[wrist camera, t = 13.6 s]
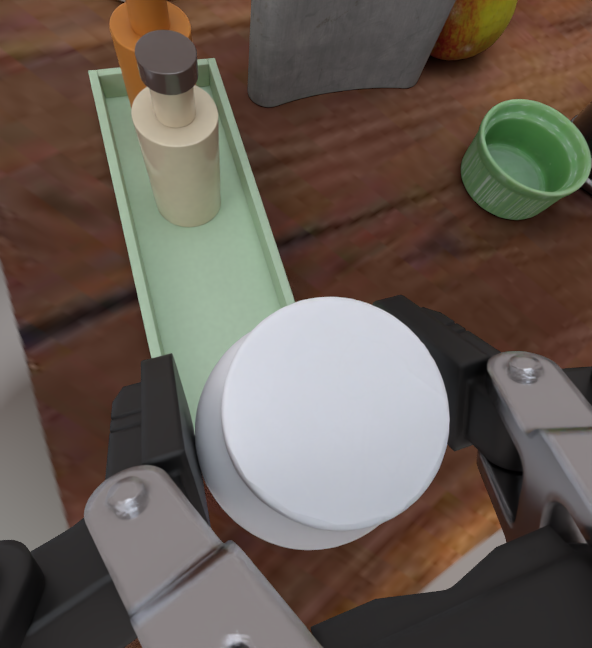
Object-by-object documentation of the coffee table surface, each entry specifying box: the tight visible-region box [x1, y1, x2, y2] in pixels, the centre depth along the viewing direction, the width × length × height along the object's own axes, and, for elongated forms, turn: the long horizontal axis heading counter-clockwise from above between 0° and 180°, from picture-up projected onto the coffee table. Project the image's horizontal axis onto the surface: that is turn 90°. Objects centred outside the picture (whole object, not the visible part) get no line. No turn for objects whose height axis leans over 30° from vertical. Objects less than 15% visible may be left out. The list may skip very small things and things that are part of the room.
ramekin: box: [461, 99, 591, 220], centre depth 35 cm, size 9×9×4 cm
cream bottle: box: [131, 30, 221, 227], centre depth 25 cm, size 5×5×12 cm
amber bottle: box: [109, 0, 196, 109], centre depth 27 cm, size 5×5×12 cm
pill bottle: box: [195, 297, 450, 550], centre depth 11 cm, size 5×5×9 cm
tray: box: [88, 58, 295, 433], centre depth 29 cm, size 9×27×3 cm, turn 17°
